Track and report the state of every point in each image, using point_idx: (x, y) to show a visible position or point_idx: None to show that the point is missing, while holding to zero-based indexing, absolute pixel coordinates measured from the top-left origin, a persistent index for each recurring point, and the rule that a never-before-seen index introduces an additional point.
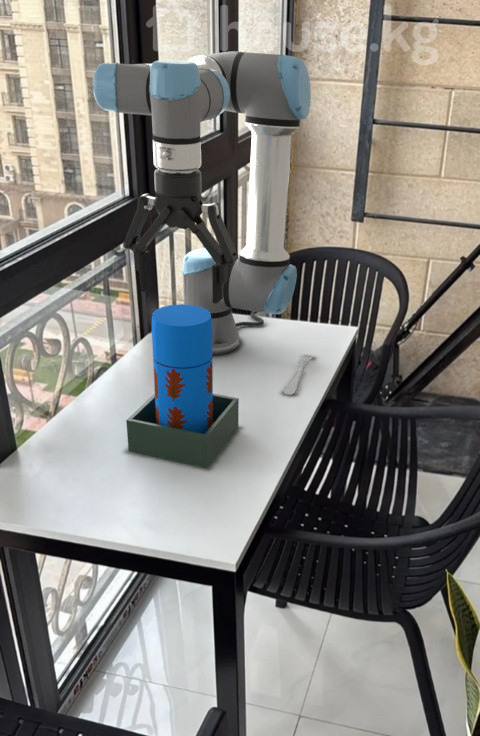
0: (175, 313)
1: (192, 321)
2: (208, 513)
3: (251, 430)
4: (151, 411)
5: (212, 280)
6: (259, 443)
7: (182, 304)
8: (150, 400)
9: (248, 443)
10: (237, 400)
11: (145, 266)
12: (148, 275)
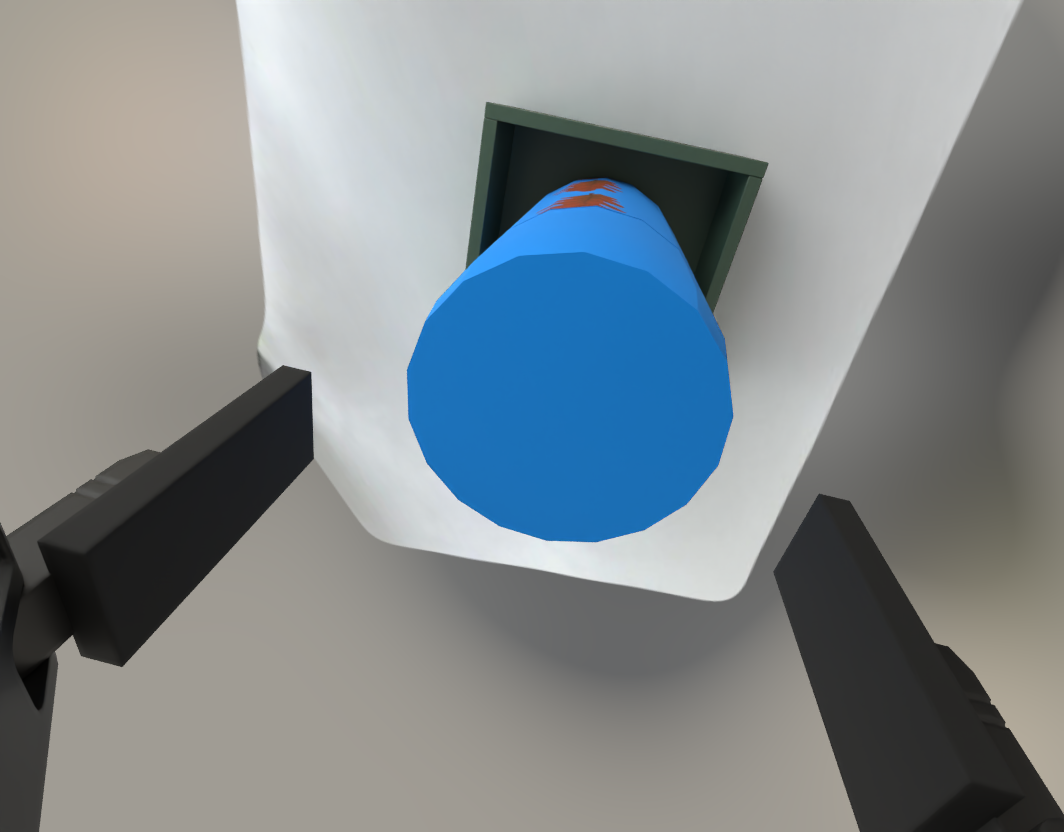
0: (524, 404)
1: (635, 487)
2: (685, 509)
3: (786, 162)
4: (489, 235)
5: (822, 718)
6: (806, 237)
7: (528, 258)
8: (479, 239)
9: (773, 242)
10: (763, 176)
11: (202, 548)
12: (255, 456)
